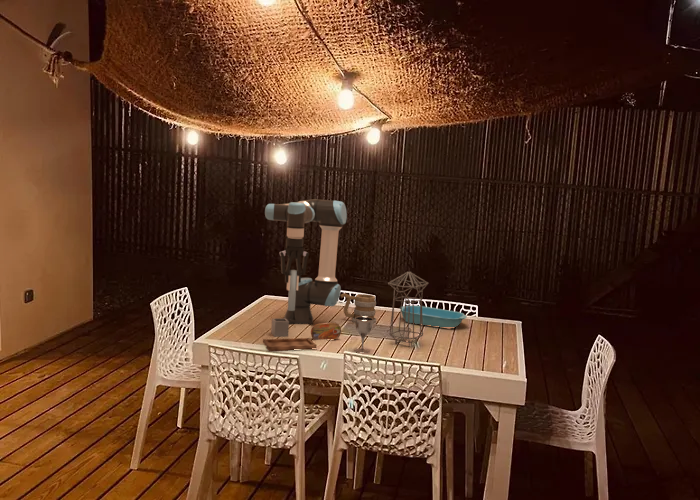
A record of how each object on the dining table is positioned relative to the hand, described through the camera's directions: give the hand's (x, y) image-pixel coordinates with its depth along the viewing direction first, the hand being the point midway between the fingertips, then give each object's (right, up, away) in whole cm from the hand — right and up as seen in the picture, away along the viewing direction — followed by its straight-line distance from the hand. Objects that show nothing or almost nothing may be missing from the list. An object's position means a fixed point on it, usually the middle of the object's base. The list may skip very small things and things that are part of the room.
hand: (292, 289), depth 295 cm
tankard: (+30, -21, +63) cm, 72 cm away
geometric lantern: (+52, -27, +21) cm, 62 cm away
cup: (-8, -23, +20) cm, 32 cm away
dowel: (-1, -9, +1) cm, 9 cm away
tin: (+14, -25, +19) cm, 34 cm away
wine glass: (+31, -28, +4) cm, 42 cm away
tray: (-2, -26, +3) cm, 26 cm away
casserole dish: (+71, -23, +68) cm, 101 cm away
